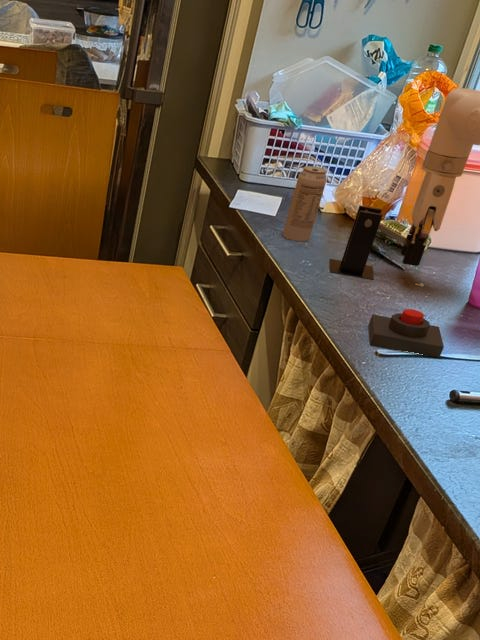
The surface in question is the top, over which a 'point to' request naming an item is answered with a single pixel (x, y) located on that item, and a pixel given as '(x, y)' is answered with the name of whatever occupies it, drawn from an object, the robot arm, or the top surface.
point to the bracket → (359, 245)
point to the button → (412, 317)
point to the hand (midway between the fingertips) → (409, 259)
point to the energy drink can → (305, 203)
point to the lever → (393, 234)
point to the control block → (405, 335)
